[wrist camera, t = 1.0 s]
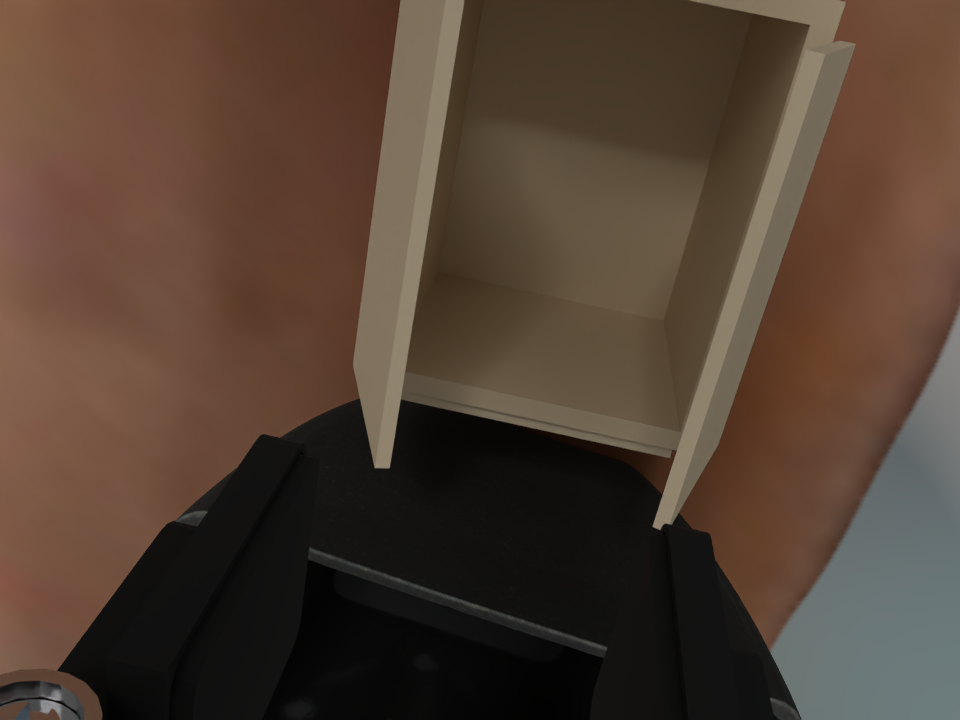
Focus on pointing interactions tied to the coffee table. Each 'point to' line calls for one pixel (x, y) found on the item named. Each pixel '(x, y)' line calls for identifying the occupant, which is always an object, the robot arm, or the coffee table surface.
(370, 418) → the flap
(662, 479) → the coffee table surface
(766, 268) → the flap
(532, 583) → the flower pot
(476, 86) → the shipping box
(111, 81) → the coffee table surface
